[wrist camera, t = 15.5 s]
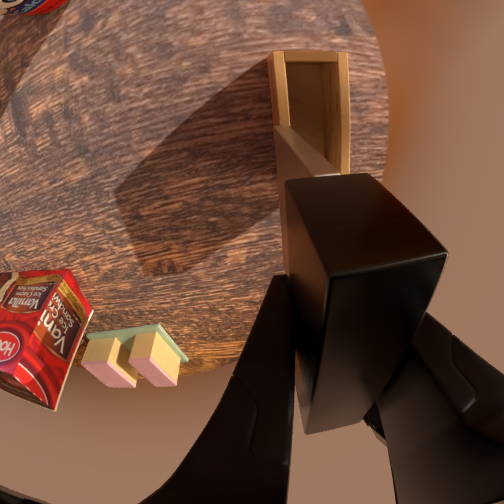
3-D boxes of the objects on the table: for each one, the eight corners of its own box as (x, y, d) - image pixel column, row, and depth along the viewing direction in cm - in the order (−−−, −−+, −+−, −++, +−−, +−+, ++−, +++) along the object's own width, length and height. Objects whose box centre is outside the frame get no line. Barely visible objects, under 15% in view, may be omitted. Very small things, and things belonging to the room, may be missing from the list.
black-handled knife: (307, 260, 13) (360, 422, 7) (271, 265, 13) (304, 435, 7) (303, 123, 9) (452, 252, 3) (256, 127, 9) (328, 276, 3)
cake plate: (188, 358, 33) (188, 361, 33) (118, 364, 35) (118, 367, 34) (159, 323, 29) (158, 326, 28) (87, 333, 31) (85, 336, 30)
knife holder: (330, 174, 19) (348, 197, 16) (277, 178, 19) (284, 202, 16) (326, 56, 14) (347, 52, 11) (266, 57, 14) (271, 51, 11)
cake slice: (180, 358, 32) (176, 386, 29) (160, 360, 33) (156, 386, 30) (156, 331, 29) (149, 360, 26) (135, 333, 29) (127, 362, 26)
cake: (141, 362, 33) (135, 387, 30) (114, 364, 34) (108, 387, 31) (115, 337, 30) (106, 363, 27) (89, 339, 31) (80, 364, 27)
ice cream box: (3, 305, 28) (-32, 372, 18) (-18, 273, 24) (-60, 341, 14) (93, 311, 28) (56, 411, 17) (69, 268, 24) (13, 375, 13)
